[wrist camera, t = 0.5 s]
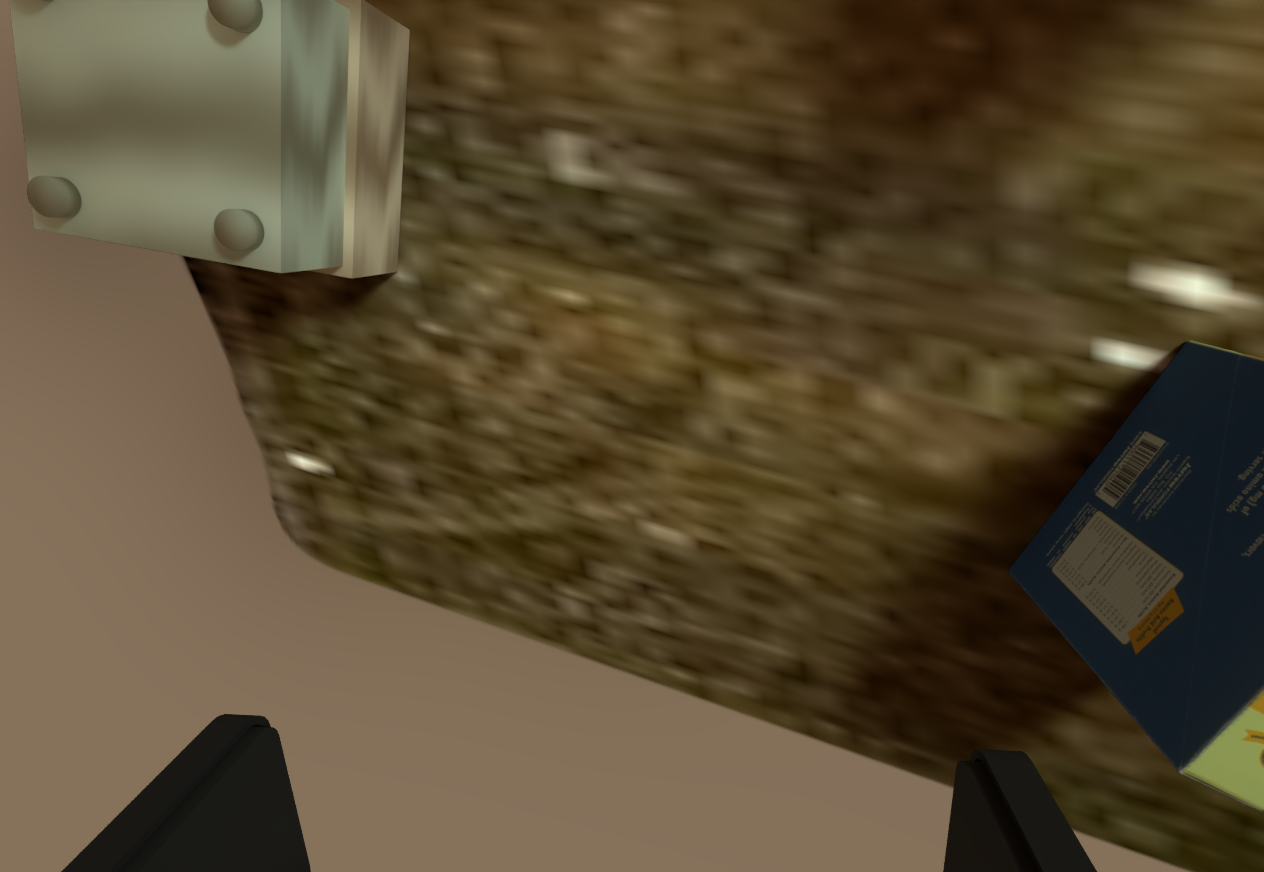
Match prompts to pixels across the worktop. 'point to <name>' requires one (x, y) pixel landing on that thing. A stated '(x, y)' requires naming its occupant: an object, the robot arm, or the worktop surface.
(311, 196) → the grey studded block
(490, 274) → the worktop surface
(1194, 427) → the protein box
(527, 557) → the worktop surface
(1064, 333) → the worktop surface
